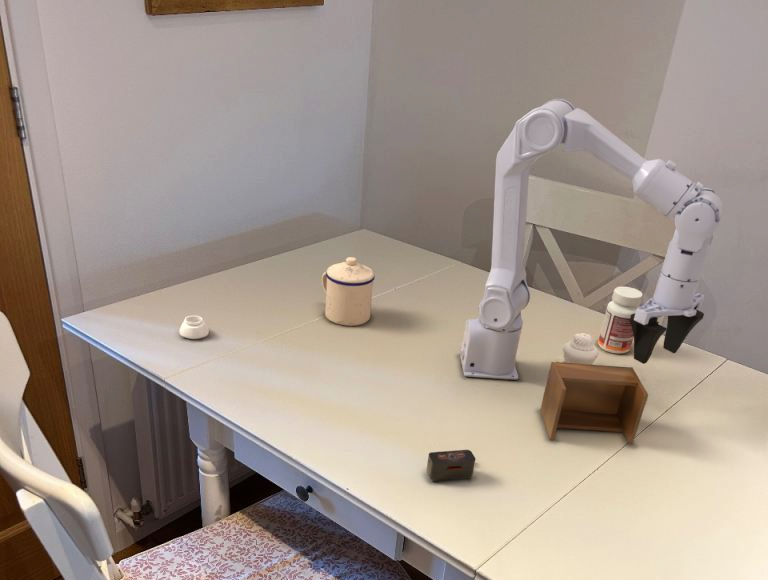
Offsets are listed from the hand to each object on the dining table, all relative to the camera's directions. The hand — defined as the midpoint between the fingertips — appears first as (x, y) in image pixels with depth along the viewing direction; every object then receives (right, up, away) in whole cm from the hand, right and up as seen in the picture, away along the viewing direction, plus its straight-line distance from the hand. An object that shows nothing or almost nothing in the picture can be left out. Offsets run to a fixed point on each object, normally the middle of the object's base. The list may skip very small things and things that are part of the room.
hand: (655, 355), depth 125 cm
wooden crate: (-11, -5, 0) cm, 12 cm away
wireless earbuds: (-33, -18, -13) cm, 40 cm away
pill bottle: (+1, +4, +25) cm, 26 cm away
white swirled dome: (-9, -1, +16) cm, 18 cm away
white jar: (-77, +5, +15) cm, 78 cm away
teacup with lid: (-51, +11, +27) cm, 59 cm away
